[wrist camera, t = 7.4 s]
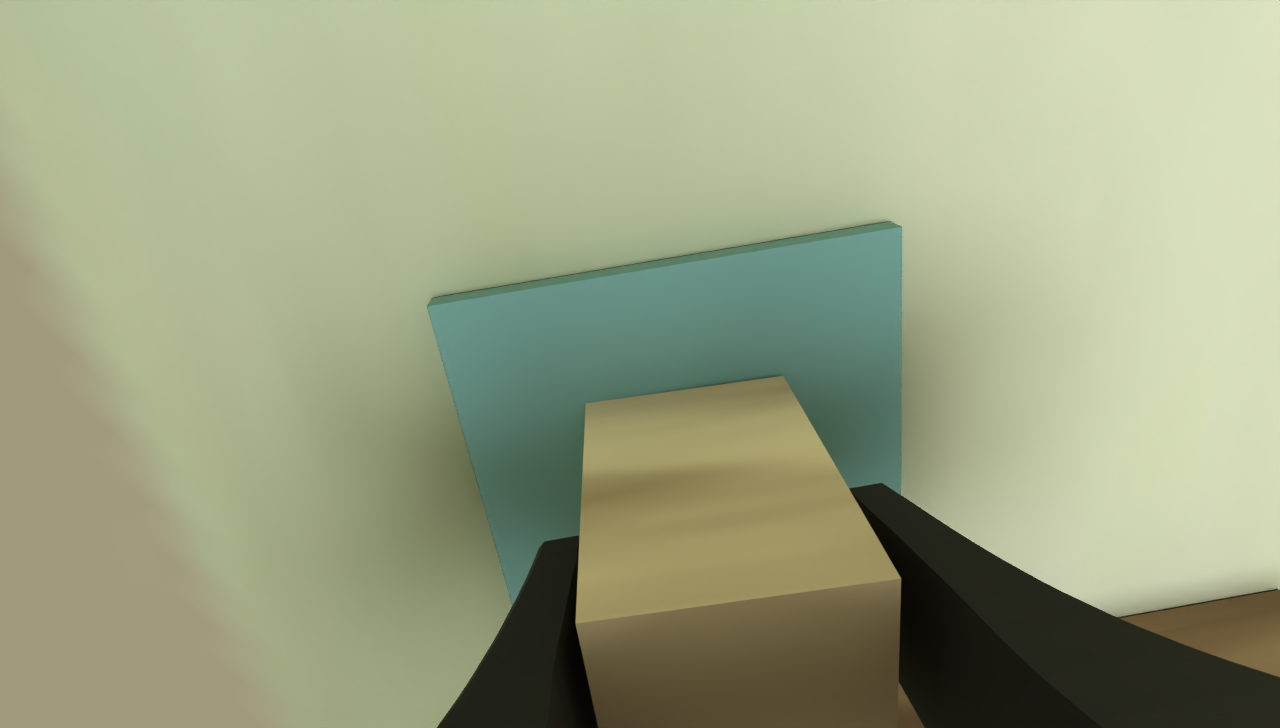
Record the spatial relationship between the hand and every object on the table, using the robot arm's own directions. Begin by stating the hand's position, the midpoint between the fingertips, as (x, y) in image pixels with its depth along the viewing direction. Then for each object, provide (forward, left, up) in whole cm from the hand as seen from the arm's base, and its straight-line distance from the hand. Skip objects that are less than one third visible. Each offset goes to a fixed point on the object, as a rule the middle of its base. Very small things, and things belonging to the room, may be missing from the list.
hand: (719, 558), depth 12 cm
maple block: (0, 0, -3) cm, 3 cm away
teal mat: (0, 0, -3) cm, 3 cm away
